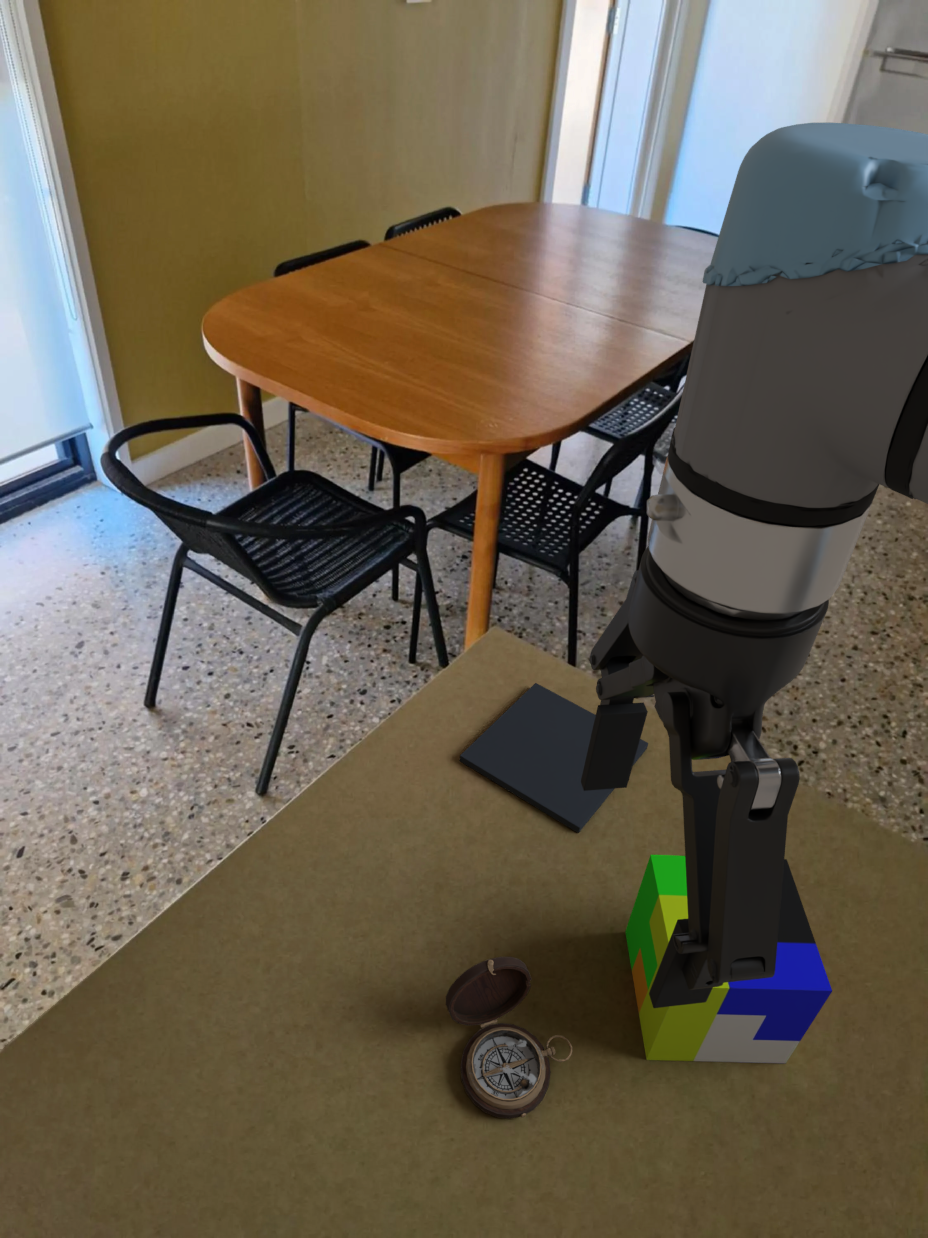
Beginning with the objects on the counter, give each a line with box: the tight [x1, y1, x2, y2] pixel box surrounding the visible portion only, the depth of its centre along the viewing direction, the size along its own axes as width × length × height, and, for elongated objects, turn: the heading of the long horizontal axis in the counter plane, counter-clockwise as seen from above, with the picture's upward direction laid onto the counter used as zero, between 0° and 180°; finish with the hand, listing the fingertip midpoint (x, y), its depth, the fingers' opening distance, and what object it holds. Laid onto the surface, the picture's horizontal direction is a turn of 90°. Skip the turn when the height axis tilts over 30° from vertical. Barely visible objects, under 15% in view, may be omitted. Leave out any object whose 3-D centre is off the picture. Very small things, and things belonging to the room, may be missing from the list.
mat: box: [459, 682, 649, 834], centre depth 84 cm, size 13×13×1 cm
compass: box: [445, 956, 573, 1119], centre depth 60 cm, size 8×8×7 cm
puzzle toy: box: [624, 854, 833, 1064], centre depth 63 cm, size 10×10×10 cm
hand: (636, 880), depth 49 cm, fingers open, 13 cm apart
